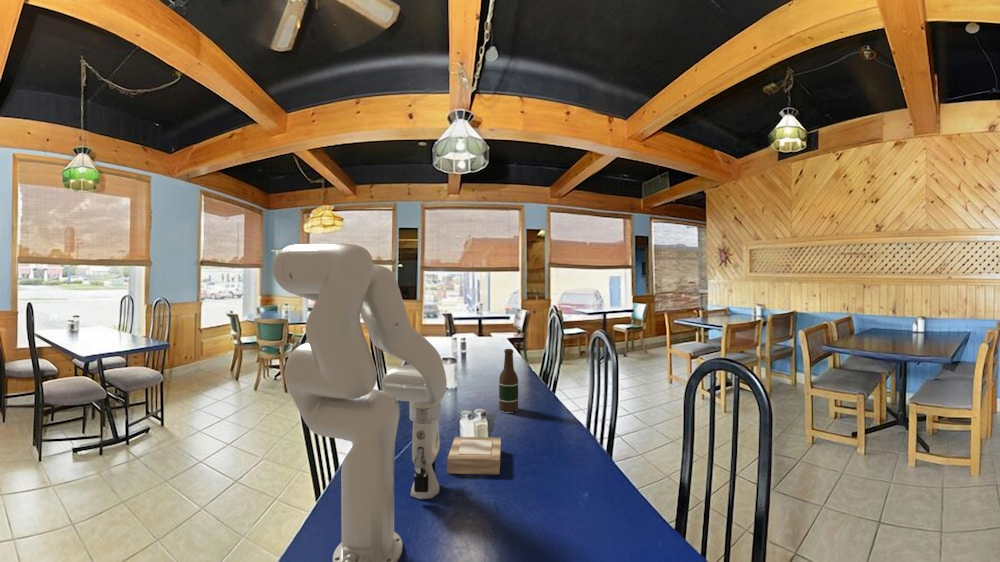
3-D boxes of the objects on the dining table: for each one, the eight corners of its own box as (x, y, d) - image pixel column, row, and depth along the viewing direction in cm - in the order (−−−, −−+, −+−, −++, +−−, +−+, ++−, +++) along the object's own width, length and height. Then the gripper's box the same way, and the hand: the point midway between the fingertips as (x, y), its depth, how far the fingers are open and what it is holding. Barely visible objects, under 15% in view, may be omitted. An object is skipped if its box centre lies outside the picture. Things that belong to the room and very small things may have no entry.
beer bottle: (496, 412, 151) (496, 350, 151) (501, 406, 159) (502, 347, 158) (515, 414, 149) (516, 352, 149) (520, 408, 157) (520, 348, 156)
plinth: (499, 474, 105) (499, 458, 105) (447, 473, 106) (447, 457, 105) (500, 450, 119) (500, 437, 119) (454, 449, 120) (454, 436, 119)
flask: (433, 502, 92) (433, 460, 92) (405, 498, 94) (405, 456, 94) (444, 485, 100) (444, 446, 99) (417, 482, 101) (417, 444, 101)
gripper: (433, 425, 87) (433, 503, 88) (446, 399, 105) (446, 465, 105) (400, 424, 88) (400, 502, 88) (418, 399, 105) (418, 464, 106)
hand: (425, 481), depth 97 cm, fingers open, 7 cm apart
